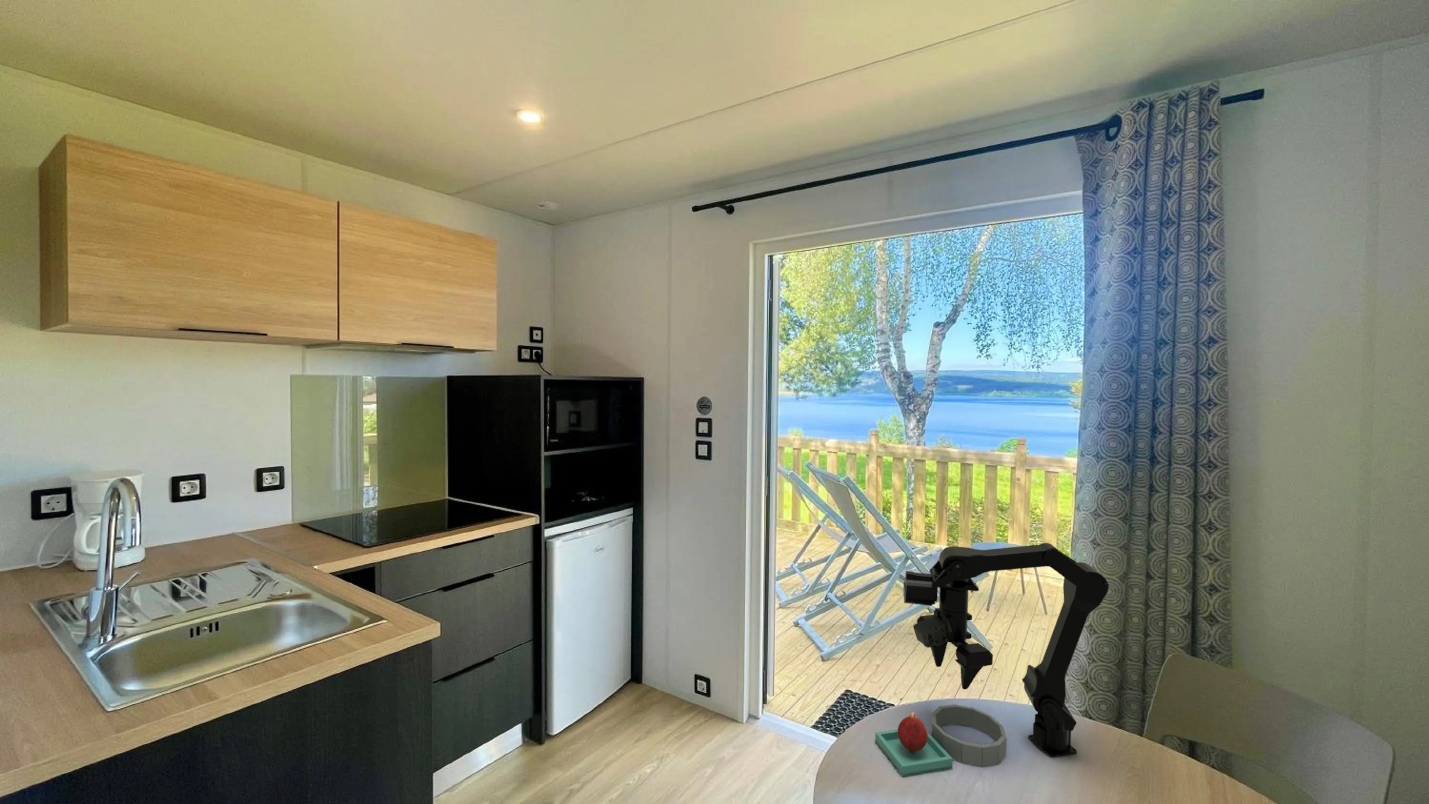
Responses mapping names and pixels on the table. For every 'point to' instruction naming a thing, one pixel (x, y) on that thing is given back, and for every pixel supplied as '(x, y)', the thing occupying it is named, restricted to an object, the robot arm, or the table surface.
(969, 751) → the ring
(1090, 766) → the table surface
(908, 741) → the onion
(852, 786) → the table surface
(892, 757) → the tray
